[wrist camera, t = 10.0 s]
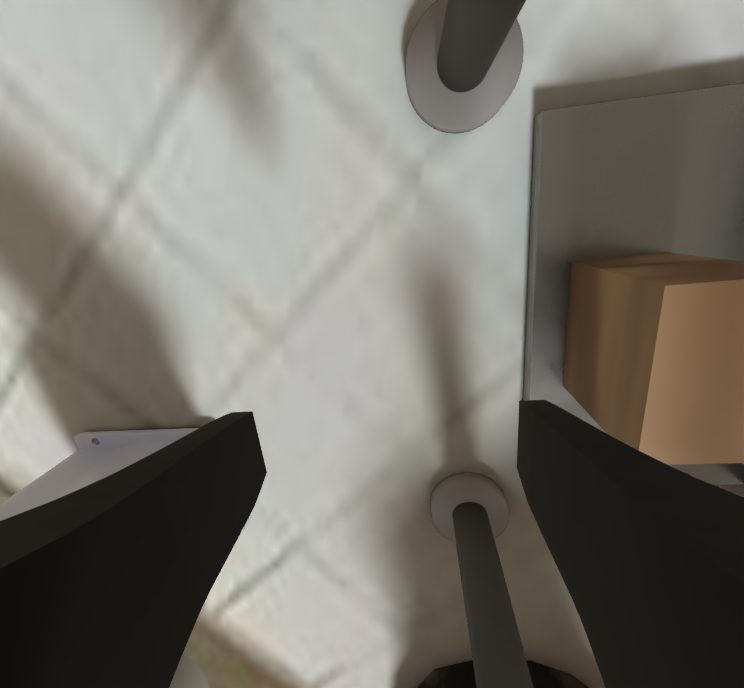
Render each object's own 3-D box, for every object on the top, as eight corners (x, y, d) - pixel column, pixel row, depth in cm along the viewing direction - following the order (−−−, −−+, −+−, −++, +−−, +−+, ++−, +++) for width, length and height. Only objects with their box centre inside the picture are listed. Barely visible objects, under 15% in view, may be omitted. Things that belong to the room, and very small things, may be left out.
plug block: (562, 385, 17) (636, 465, 12) (571, 261, 16) (665, 285, 10) (651, 381, 17) (772, 462, 11) (672, 252, 15) (830, 272, 9)
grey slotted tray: (520, 474, 20) (553, 550, 16) (534, 117, 15) (593, 69, 10) (753, 471, 19) (866, 553, 14) (870, 72, 13) (1124, -9, 9)
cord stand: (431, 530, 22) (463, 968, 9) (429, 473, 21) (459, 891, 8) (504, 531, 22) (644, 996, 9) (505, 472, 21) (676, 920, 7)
